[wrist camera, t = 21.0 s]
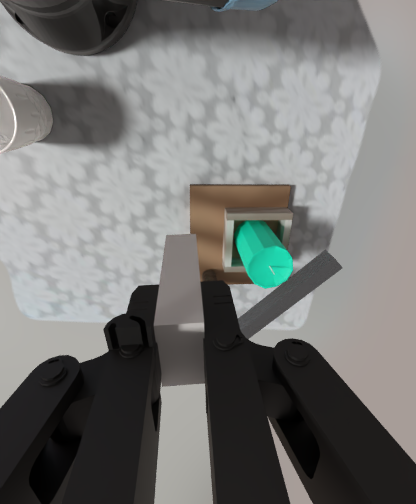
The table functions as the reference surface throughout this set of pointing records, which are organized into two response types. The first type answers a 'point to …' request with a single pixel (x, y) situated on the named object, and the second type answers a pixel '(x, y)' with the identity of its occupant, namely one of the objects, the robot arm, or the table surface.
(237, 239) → the candle
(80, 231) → the table surface
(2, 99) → the white cup
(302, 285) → the bar
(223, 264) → the board
